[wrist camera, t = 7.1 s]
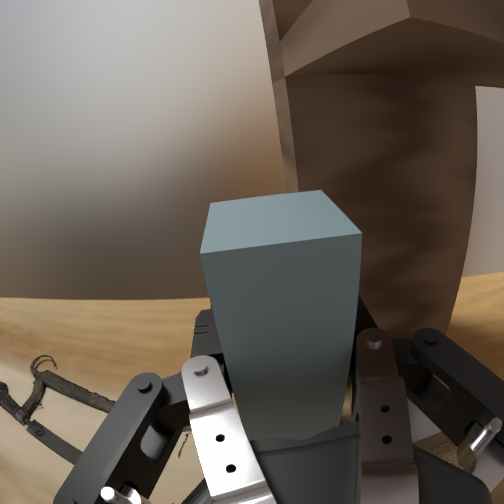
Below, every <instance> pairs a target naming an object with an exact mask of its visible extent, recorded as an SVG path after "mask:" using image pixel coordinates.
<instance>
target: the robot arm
mask: <svg viewBox="0 0 504 504" xmlns="http://www.w3.org/2000/svg"><path fill="white" fill-rule="evenodd" d="M349 373H350V376H351V416H350V423H349V424H345V425H341V426H336V427H333V428H331V429H329V430H326V431H324V432H322V433H320V434H317V435H315V436H313V437H310V438H308V439H304V440H300V439H281V438H268V439H260V440H251V441H248V438H247V436H246V434H245V431H244V429H243V426H242V424H241V421H240V419H239V416H238V414H237V411H236V409H235V406H234V404H233V401H232V393H233V389H232V386H231V382H230V378H229V375H228V371H227V367H226V363H225V359H224V355H223V351H222V347H221V343H220V339H219V335H218V331H217V327H216V323H215V319H214V314H213V310H212V306H211V309H208V310H201V312H200V313H199V315H198V316H197V317H196V321H195V328H194V335H193V342H192V350H191V357H190V360H188V361H187V362H186V363H185V364H184V365H183V367H182V371H181V372H180V373H178V374H176V375H174V376H171V377H168V378H164V379H161V378H160V377H159V376H158V375H156V374H154V373H142V374H140V375H137V376H136V377H134V378H133V379H132V380H131V381H130V382H129V384H128V385H127V387H126V388H125V390H124V391H123V393H122V394H121V396H120V397H119V399H118V400H117V402H116V403H115V405H114V406H113V408H112V409H111V411H110V412H109V414H108V415H107V417H106V418H105V420H104V421H103V423H102V424H101V426H100V427H99V429H98V430H97V432H96V433H95V435H94V436H93V438H92V439H91V441H90V443H89V444H88V446H87V447H86V449H85V450H84V452H83V453H82V455H81V456H80V458H79V459H78V461H77V463H76V464H75V466H74V467H73V469H72V470H71V472H70V474H69V475H68V477H67V478H66V480H65V481H64V483H63V485H62V486H61V488H60V489H59V491H58V493H57V494H56V496H55V498H54V501H53V504H151V502H150V501H149V500H148V499H149V497H150V495H151V493H152V491H153V489H154V487H155V485H156V483H157V481H158V479H159V477H160V475H161V473H162V471H163V469H164V467H165V465H166V463H167V461H168V459H169V457H170V455H171V453H172V451H173V449H174V447H175V445H176V443H177V441H178V439H179V437H180V435H181V433H182V431H183V429H184V427H186V426H189V425H191V427H192V431H193V435H194V439H195V442H196V446H197V450H198V453H199V457H200V460H201V464H202V467H203V471H204V474H205V478H204V479H203V480H202V481H201V482H200V483H199V484H198V486H197V487H196V488H195V489H194V490H193V491H192V492H191V493H190V494H189V496H188V497H187V498H186V499H185V500H184V501H183V502H182V503H181V504H492V499H491V494H490V493H491V492H492V491H493V489H494V488H495V487H496V486H497V485H498V484H499V483H500V481H501V480H502V479H503V478H504V381H503V380H501V379H500V378H499V377H498V376H497V375H495V374H494V373H493V372H492V371H490V370H489V369H488V368H487V367H485V366H484V365H483V364H481V363H480V362H479V361H478V360H476V359H475V358H474V357H473V356H471V355H470V354H469V353H467V352H466V351H465V350H464V349H462V348H461V347H460V346H458V345H457V344H456V343H454V342H453V341H452V340H450V339H449V338H448V337H446V336H445V335H444V334H442V333H441V332H440V331H438V330H436V329H433V328H423V329H420V330H418V331H416V332H415V334H414V335H413V339H395V338H392V337H391V335H390V334H389V333H388V332H386V331H385V330H383V329H379V328H378V327H377V325H376V323H375V321H374V320H373V318H372V316H371V314H370V313H369V311H368V309H367V308H366V306H365V304H364V302H363V301H362V299H361V297H360V295H359V294H358V303H357V313H356V322H355V331H354V339H353V347H352V354H351V361H350V368H349ZM434 375H435V376H436V377H437V378H438V379H437V378H436V377H435V376H434ZM440 380H441V381H442V382H443V383H444V384H445V385H446V386H447V387H446V386H445V385H444V384H443V383H442V382H441V381H440ZM407 398H408V399H409V400H410V401H411V402H413V403H414V404H415V405H416V406H417V407H418V408H419V409H420V410H421V411H422V412H423V413H424V414H425V415H426V416H427V417H428V418H429V419H430V420H431V421H432V422H433V423H434V424H435V425H436V426H437V427H438V428H439V429H440V430H441V431H442V432H443V433H444V434H445V435H446V436H447V437H448V438H449V439H450V440H451V441H452V442H453V443H454V444H455V445H456V446H457V447H458V448H457V458H458V463H459V465H460V466H461V467H463V469H464V470H462V469H460V468H458V467H456V466H454V465H452V464H450V463H448V462H446V461H444V460H442V459H440V458H438V457H436V456H434V455H432V454H431V453H429V452H427V451H425V450H423V449H421V448H419V447H418V446H416V445H414V444H412V436H411V426H410V417H409V409H408V402H407Z"/></svg>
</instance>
